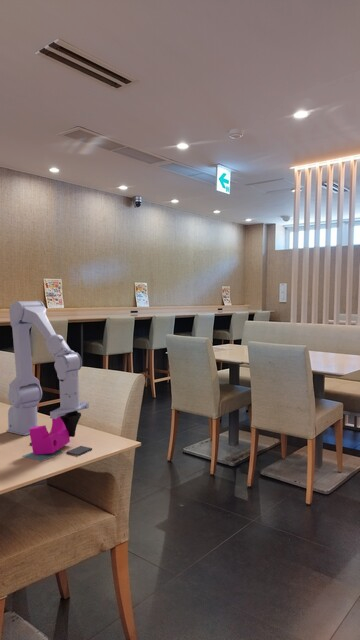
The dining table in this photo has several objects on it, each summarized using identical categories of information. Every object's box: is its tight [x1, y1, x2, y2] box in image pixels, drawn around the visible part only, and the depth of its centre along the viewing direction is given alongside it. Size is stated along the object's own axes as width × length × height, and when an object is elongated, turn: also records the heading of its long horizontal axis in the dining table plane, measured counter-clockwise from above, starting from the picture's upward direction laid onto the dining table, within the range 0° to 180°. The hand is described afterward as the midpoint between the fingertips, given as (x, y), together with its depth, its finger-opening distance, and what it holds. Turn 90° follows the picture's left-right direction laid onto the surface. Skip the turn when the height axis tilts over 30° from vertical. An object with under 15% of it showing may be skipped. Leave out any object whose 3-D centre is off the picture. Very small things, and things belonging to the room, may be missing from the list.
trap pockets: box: [29, 442, 93, 457], centre depth 139 cm, size 20×6×1 cm, turn 59°
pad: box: [22, 449, 64, 462], centre depth 133 cm, size 8×8×1 cm
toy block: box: [29, 417, 71, 455], centre depth 139 cm, size 15×6×8 cm, turn 166°
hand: (71, 436), depth 141 cm, fingers closed, pressing on toy block
